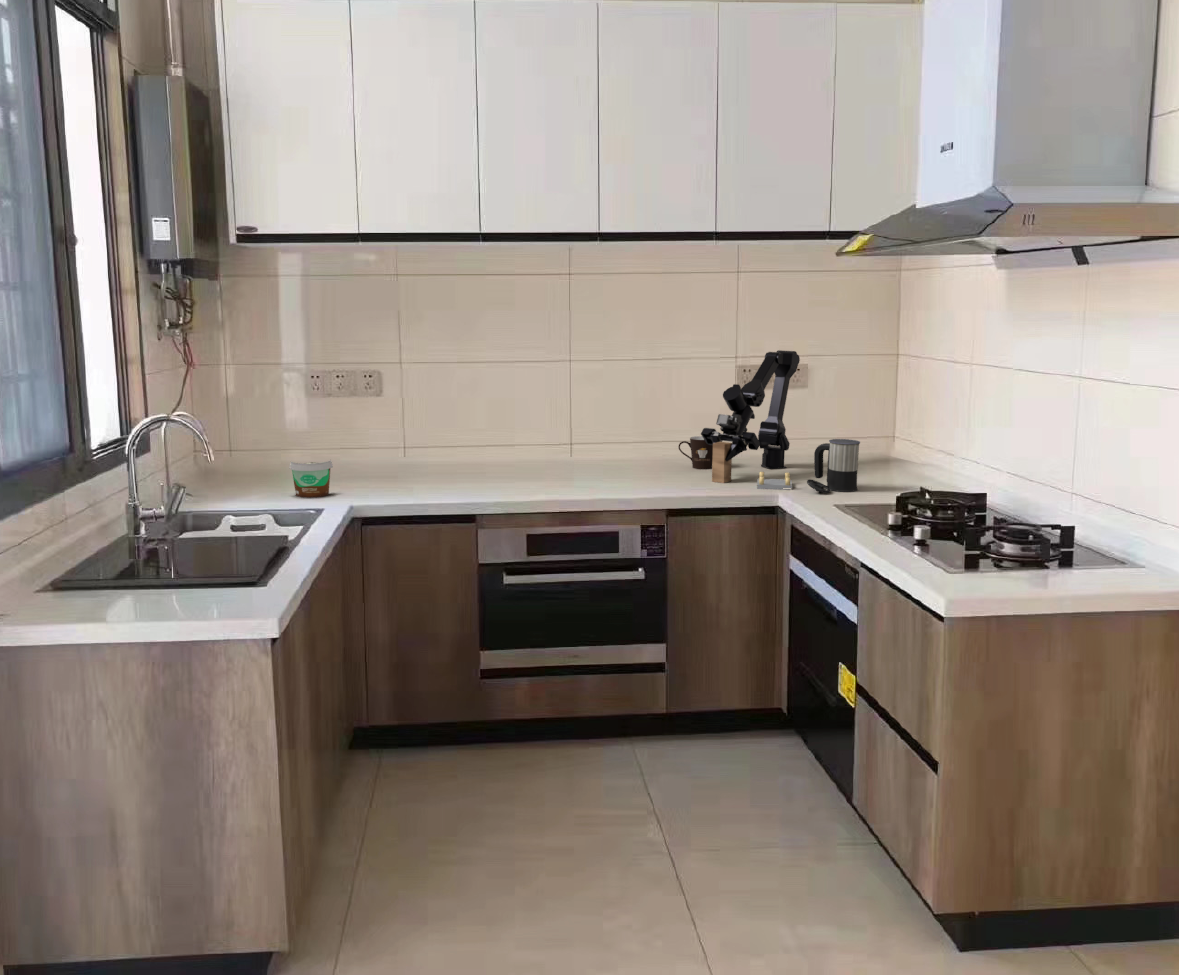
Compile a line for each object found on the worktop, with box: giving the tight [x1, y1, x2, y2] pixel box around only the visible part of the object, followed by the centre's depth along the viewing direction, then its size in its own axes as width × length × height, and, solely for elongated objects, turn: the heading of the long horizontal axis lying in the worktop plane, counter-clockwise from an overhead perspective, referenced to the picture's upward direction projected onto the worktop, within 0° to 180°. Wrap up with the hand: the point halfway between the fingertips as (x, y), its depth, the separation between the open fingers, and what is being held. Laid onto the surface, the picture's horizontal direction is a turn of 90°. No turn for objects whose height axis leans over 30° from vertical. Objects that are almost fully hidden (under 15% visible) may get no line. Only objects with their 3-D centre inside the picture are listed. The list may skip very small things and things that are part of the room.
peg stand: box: [756, 471, 793, 490], centre depth 343 cm, size 10×10×3 cm
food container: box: [289, 459, 334, 499], centre depth 323 cm, size 12×6×10 cm, turn 106°
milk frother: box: [806, 438, 861, 494], centre depth 335 cm, size 14×16×15 cm
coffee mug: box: [678, 435, 713, 470], centre depth 375 cm, size 12×9×10 cm
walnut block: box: [711, 441, 733, 484], centre depth 349 cm, size 4×4×12 cm
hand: (719, 459), depth 348 cm, fingers closed on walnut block, 4 cm apart
